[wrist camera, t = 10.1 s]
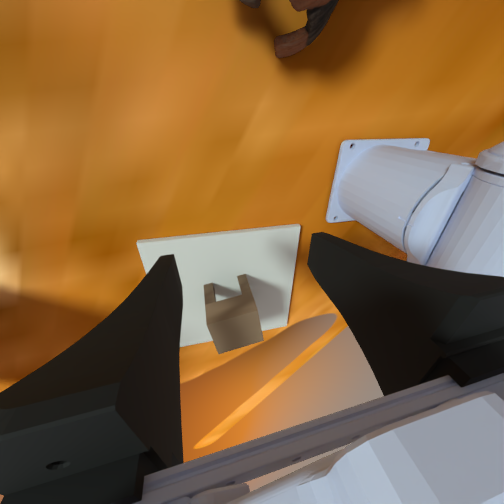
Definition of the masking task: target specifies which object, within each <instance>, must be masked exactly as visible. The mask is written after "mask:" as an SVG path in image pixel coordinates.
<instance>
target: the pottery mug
mask: <svg viewBox="0 0 504 504" xmlns="http://www.w3.org/2000/svg"><path fill="white" fill-rule="evenodd" d="M240 1H241V2H242V3H244V4H245V5H248V6H250V7H252V8H258V7H259V6H260V2H261V0H240ZM289 1H290V2H291V4H292V6H293V8H294V9H295V10H296V11H303V10H306V9H307V18H308V21H307V23H306V26H305V27H303V28H300V29H298V30H296V31H294V32H291V33H288V34H285V35H281V36H277V37H276V38H275V40H274V47H275V51H276V52H275V55H276V57H278V58H282V57H288V56H290V55H293V54H295V53H297V52H299V51H301V50H302V49H304V48H305V47H306V46H308V45H309V44H311V43H312V42H313V41H314V40H315V39H316V37H317V36H318V35H319V34H320V33H321V31H322V30H323V28H324V27H325V25H326V24H327V22H328V20H329V18H330V15H331V13H332V12H333V10H334V8H335V6H336V4H337V2H338V1H339V0H289Z"/></svg>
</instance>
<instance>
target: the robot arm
mask: <svg viewBox="0 0 504 504" xmlns="http://www.w3.org/2000/svg"><path fill="white" fill-rule="evenodd" d="M415 143H416V144H415ZM429 143H430V140H429V139H428V138H406V139H362V140H345V141H343V142H342V144H341V146H340V151H339V156H338V161H337V166H336V171H335V176H334V180H333V185H332V190H331V195H330V200H329V205H328V210H327V214H326V221H327V222H329V223H334V222H344V221H353V220H356V221H358V222H359V223H361V224H362V225H364V226H365V227H367V228H368V229H370V230H371V231H373V232H374V233H376V234H377V235H379V236H380V237H382V238H384V239H385V240H387V241H388V242H390V243H391V244H393V245H394V246H396V247H397V248H399V249H400V250H402V251H403V252H405V253H406V254H407V256H408V257H407V261H403V260H400V259H396V258H393V257H389V256H386V255H383V254H380V253H377V252H374V251H371V250H368V249H366V248H363V247H360V246H358V245H355V244H353V243H350V242H348V241H345V240H343V239H340V238H338V237H335V236H333V235H330V234H327V233H324V232H320V233H313V234H312V237H311V244H310V250H309V257H308V263H307V264H308V266H309V268H310V270H311V272H312V274H313V276H314V278H315V279H316V281H317V282H318V283H319V285H320V286H321V288H322V289H323V290H324V292H325V293H326V294H327V296H328V297H329V298H330V300H331V301H332V302H333V303H334V305H335V306H336V307H337V309H338V310H339V312H340V313H341V315H342V316H343V318H344V319H345V321H346V323H347V324H348V326H349V328H350V329H351V331H352V333H353V335H354V336H355V338H356V340H357V342H358V344H359V345H360V347H361V349H362V351H363V353H364V355H365V357H366V359H367V361H368V363H369V365H370V366H371V369H372V371H373V373H374V375H375V377H376V379H377V381H378V384H379V386H380V388H381V390H382V392H383V395H384V397H381V398H378V399H375V400H372V401H369V402H366V403H363V404H360V405H357V406H354V407H351V408H348V409H345V410H342V411H339V412H336V413H333V414H330V415H327V416H324V417H321V418H318V419H315V420H312V421H309V422H305V423H303V424H300V425H296V426H293V427H291V428H287V429H285V430H281V431H278V432H275V433H272V434H269V435H266V436H263V437H260V438H257V439H254V440H251V441H248V442H245V443H242V444H239V445H236V446H233V447H230V448H227V449H224V450H222V451H218V452H215V453H212V454H209V455H206V456H203V457H200V458H197V459H194V460H191V461H188V462H185V463H183V447H182V428H181V406H180V372H179V348H180V335H181V324H182V312H183V291H182V283H181V279H180V276H179V272H178V268H177V264H176V260H175V256H174V254H170V255H163V256H160V257H159V258H158V260H157V261H156V262H155V264H154V265H153V266H152V268H151V269H150V271H149V272H148V273H147V275H146V276H145V277H144V278H143V280H142V281H141V282H140V283H139V285H138V286H137V287H136V288H135V289H134V290H133V292H132V293H131V294H130V295H129V296H128V297H127V298H126V299H125V300H124V301H123V302H122V303H121V304H120V305H119V306H118V307H117V308H116V309H115V310H114V311H113V312H112V313H111V314H110V315H109V316H108V317H107V318H106V319H104V320H103V321H102V322H101V323H100V324H98V325H97V326H96V327H95V328H93V329H92V330H91V331H90V332H89V333H87V334H86V335H85V336H84V337H82V338H81V339H80V340H79V341H77V342H76V343H75V344H73V345H72V346H70V347H69V348H68V349H66V350H65V351H64V352H62V353H61V354H59V355H58V356H56V357H55V358H54V359H52V360H51V361H49V362H48V363H46V364H45V365H43V366H42V367H40V368H39V369H37V370H36V371H34V372H32V373H31V374H29V375H28V376H26V377H25V378H23V379H21V380H20V381H18V382H17V383H15V384H14V385H12V386H10V387H9V388H7V389H6V390H4V391H2V392H1V393H0V494H1V495H4V497H3V500H2V501H1V504H504V142H502V143H499V144H497V145H496V146H494V147H492V148H490V149H487V150H484V151H482V152H480V154H479V156H478V159H474V158H468V157H463V156H457V155H451V154H445V153H439V152H433V151H427V149H428V146H429ZM351 144H353V146H352V148H351V149H350V145H351ZM335 216H336V218H335V219H334V217H335ZM352 442H353V443H352ZM350 443H351V444H350ZM347 444H350V445H348V446H346V447H345V448H344V449H342V450H340V451H338V452H335V453H333V454H331V455H329V456H326V457H324V458H322V459H320V460H317V461H315V462H313V463H311V464H309V465H307V466H305V467H303V468H300V469H298V470H296V471H294V472H292V473H290V474H288V475H286V476H284V477H282V478H279V479H277V480H275V481H273V482H271V483H269V484H267V485H264V486H262V487H260V488H258V489H256V490H254V491H252V492H250V490H249V486H248V485H247V484H246V483H244V482H247V481H249V480H252V479H255V478H257V477H260V476H263V475H266V474H268V473H271V472H274V471H276V470H279V469H282V468H284V467H287V466H290V465H292V464H296V463H298V462H301V461H304V460H306V459H309V458H311V457H314V456H317V455H320V454H323V453H325V452H328V451H331V450H333V449H336V448H338V447H341V446H344V445H347ZM241 483H243V484H241Z"/></svg>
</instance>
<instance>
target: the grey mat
mask: <svg viewBox="0 0 504 504" xmlns="http://www.w3.org/2000/svg"><path fill="white" fill-rule="evenodd" d="M300 227H301V226H300V225H299V224H291V225H282V226H272V227H262V228H252V229H243V230H233V231H223V232H213V233H204V234H194V235H184V236H175V237H165V238H155V239H145V240H138V241H137V243H136V244H137V247H138V250H139V253H140V256H141V259H142V262H143V265H144V268H145V271H146V274H147V273H148V272H149V271H150V269H151V268H152V266H153V265H154V264H155V262H156V261H157V260H158V258H159V257H160V256H163V255H170V254H174V256H175V260H176V264H177V268H178V272H179V276H180V279H181V283H182V291H183V312H182V324H181V335H180V347H183V346H188V345H193V344H198V343H203V342H208V341H213V339H212V337H211V335H210V332H209V330H208V327H207V325H206V311H205V298H204V285H205V284H209V283H213V286H214V289H215V296H216V302H217V301H220V300H224V299H228V298H231V297H235V296H238V295H242V293H241V290H240V286H239V282H238V278H237V276H239V275H243V274H246V276H247V279H248V282H249V285H250V288H251V291H252V294H253V297H254V300H255V303H256V306H257V309H258V314H259V319H260V324H261V329H262V331H263V330H269V329H274V328H279V327H284V326H287V320H288V313H289V305H290V298H291V291H292V284H293V277H294V270H295V263H296V256H297V249H298V241H299V234H300Z"/></svg>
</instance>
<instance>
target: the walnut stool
mask: <svg viewBox="0 0 504 504" xmlns="http://www.w3.org/2000/svg"><path fill="white" fill-rule="evenodd" d="M237 278H238V282H239V286H240V290H241V293H242V295H238V296H235V297H231V298H228V299H224V300H220V301H217V302H216V296H215V289H214V286H213V283H209V284H205V285H204V298H205V311H206V325H207V327H208V330H209V332H210V335H211V337H212V339H213V342H214V344H215V346H216V349H217V351H218V354H221V353H224V352H227V351H231V350H234V349H237V348H241V347H244V346H247V345H250V344H254V343H257V342H260V341H264V340H263V334H262V329H261V324H260V319H259V314H258V309H257V306H256V303H255V300H254V297H253V294H252V291H251V288H250V285H249V282H248V279H247V276H246V274H243V275H239V276H237Z"/></svg>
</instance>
